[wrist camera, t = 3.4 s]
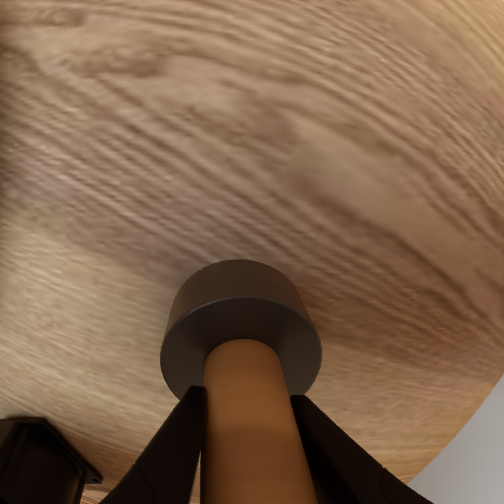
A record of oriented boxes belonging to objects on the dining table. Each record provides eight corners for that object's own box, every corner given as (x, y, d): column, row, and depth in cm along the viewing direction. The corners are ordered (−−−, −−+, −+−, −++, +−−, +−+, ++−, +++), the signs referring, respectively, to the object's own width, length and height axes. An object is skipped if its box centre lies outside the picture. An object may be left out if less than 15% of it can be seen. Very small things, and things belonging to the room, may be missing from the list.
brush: (314, 349, 13) (405, 564, 4) (201, 384, 13) (200, 604, 4) (281, 239, 12) (435, 503, 2) (149, 285, 12) (52, 549, 2)
